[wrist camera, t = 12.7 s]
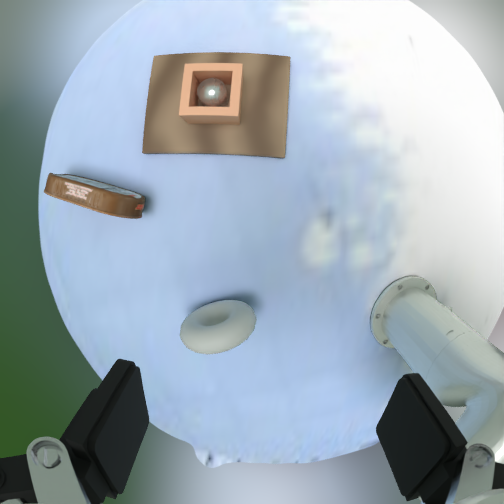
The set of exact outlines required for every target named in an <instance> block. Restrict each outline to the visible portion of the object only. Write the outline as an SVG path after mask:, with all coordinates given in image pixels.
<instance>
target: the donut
mask: <svg viewBox="0 0 504 504" xmlns="http://www.w3.org/2000/svg"><path fill="white" fill-rule="evenodd" d="M255 324H256V315H255V313H254V311H253V309H252V308H251V307H250V306H249V305H248V304H246V303H244V302H242V301H238V300H223V301H217V302H213V303H210V304H207V305H205V306H202V307H200V308H198V309H197V310H195V311H193V312H192V313H191V314H190V315H189V316H187V317H186V318H185V320H184V322H183V323H182V325H181V330H180V338H181V340H182V342H183V343H184V345H185V346H186V347H187V348H188V349H190V350H192V351H194V352H196V353H202V354H216V353H221V352H224V351H228V350H230V349H232V348H234V347H236V346H239V345H240V344H241V343H243V342H244V341H245V340H247V339H248V337H249V336H250V335H251V333H252V332H253V331H254V328H255Z"/></svg>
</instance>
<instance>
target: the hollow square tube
mask: <svg viewBox="0 0 504 504" xmlns="http://www.w3.org/2000/svg"><path fill="white" fill-rule="evenodd" d="M208 78H217V79H219V80H221V81H222V82H223V83H224V84H227V85H231V94H230V106H229V107H198V98H199V97H198V95H197V88H198V86H199V84H200V83H201V82H202V81H204V80H205V79H208ZM242 89H243V64H241V63H191V64H185V67H184V74H183V82H182V90H181V99H180V108H179V116H180V117H181V118H182V119H183V120H185V121H186V122H187V123H188V124H235V125H240V114H241V101H242Z"/></svg>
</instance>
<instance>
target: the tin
mask: <svg viewBox="0 0 504 504" xmlns="http://www.w3.org/2000/svg"><path fill="white" fill-rule="evenodd" d="M44 192H45V193H46V194H47V195H50V196H52V197H55V198H58V199H61V200H64V201H67V202H70V203H73V204H76V205H79V206H82V207H85V208H88V209H91V210H94V211H97V212H100V213H104V214H108V215H112V216H117V217H123V218H132V219H133V218H134V219H136V218H141V217H142V211H143V208H144V204H145V197H144V196H142V195H141V194H138V193H136V192H132V191H129V190H126V189H123V188H119V187H116V186H113V185H110V184H106V183H103V182H99V181H96V180H92V179H88V178H84V177H79V176H75V175H69V174H53V173H49V175H48V178H47V182H46V187H45V190H44Z"/></svg>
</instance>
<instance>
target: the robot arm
mask: <svg viewBox="0 0 504 504" xmlns="http://www.w3.org/2000/svg"><path fill="white" fill-rule="evenodd" d="M370 324H371V330H372V334H373V335H374V337H375V339H376V340H377V341H378V342H379V343H380V344H381V345H383V346H385V347H388V348H396V350H397V351H398V352H399V354H400V355H401V356H402V358H403V359H404V360H405V361H406V363H407V364H408V365H409V367H410V368H411V369H412V371H413V372H414V373H412V374H405V375H403V377H402V378H401V379H399V381H398V383H397V385H396V387H395V389H394V392H393V394H392V396H391V398H390V400H389V402H388V405H387V407H386V409H385V411H384V413H383V415H382V417H381V419H380V421H379V422H378V424H377V427H376V433H377V435H378V438H379V440H380V443H381V445H382V447H383V450H384V452H385V455H386V457H387V460H388V462H389V464H390V467H391V469H392V472H393V474H394V477H395V479H396V482H397V484H398V487H399V490H400V492H401V494H402V495H403V496H405V497H406V500H407V501H410V500H413V499H416V498H419V499H420V500H421V504H504V353H503V352H502V351H501V350H499V349H498V348H497V347H495V346H494V345H493V344H491V343H490V342H489V341H488V340H486V339H485V338H484V337H483V336H481V335H480V334H479V333H478V332H477V331H475V330H474V329H473V328H472V327H470V326H469V325H468V324H467V323H465V322H464V321H463V320H462V319H460V318H459V317H458V316H457V315H455V314H454V313H453V312H452V308H451V307H445V306H444V305H442V304H441V303H440V302H438V301H437V298H436V293H435V290H434V288H433V287H432V285H431V284H430V283H429V282H427V281H426V280H424V279H423V278H420V277H417V276H409V277H404V278H402V279H399V280H397V281H396V282H394V283H392V284H391V285H390V286H389V287H387V288H386V289H385V290H384V292H383V293H382V294H381V295H380V297H379V298H378V300H377V301H376V303H375V305H374V308H373V311H372V314H371V321H370ZM443 405H445V406H451V407H462V406H463V407H464V406H467V407H466V410H465V411H464V413H463V414H462V415H461V416H460V418H459V419H458V420H457V422H456V423H455V422H454V421H453V420H452V418H451V417H450V415H449V414H448V413H447V411H446V410H445V408H444V407H443ZM148 424H149V415H148V410H147V406H146V401H145V396H144V390H143V385H142V379H141V373H140V368H139V367H137V366H136V365H135V363H134V362H132V361H127V360H123V359H118V360H117V361H116V362H115V364H114V365H113V366H112V368H111V369H110V371H109V372H108V374H107V375H106V377H105V378H104V380H103V381H102V383H101V384H100V386H99V387H98V389H96V388H95V389H93V390H92V391H91V392H90V394H89V395H88V397H87V399H86V400H85V401H84V403H83V404H82V406H81V407H80V409H79V410H78V412H77V413H76V415H75V416H74V418H73V419H72V421H71V422H70V424H69V426H68V427H67V429H66V430H65V432H64V434H63V435H62V437H61V438H60V440H57V439H55V438H52V437H41V438H38V439H36V440H34V441H32V442H31V444H30V445H29V446H28V449H27V454H24V455H19V456H13V457H6V458H0V504H102V503H103V502H104V499H105V497H106V496H107V497H110V498H113V499H116V497H117V494H118V493H119V494H122V493H123V491H124V489H125V486H126V483H127V480H128V477H129V475H130V472H131V469H132V467H133V464H134V461H135V459H136V456H137V453H138V451H139V448H140V445H141V443H142V440H143V437H144V435H145V432H146V430H147V427H148Z"/></svg>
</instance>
